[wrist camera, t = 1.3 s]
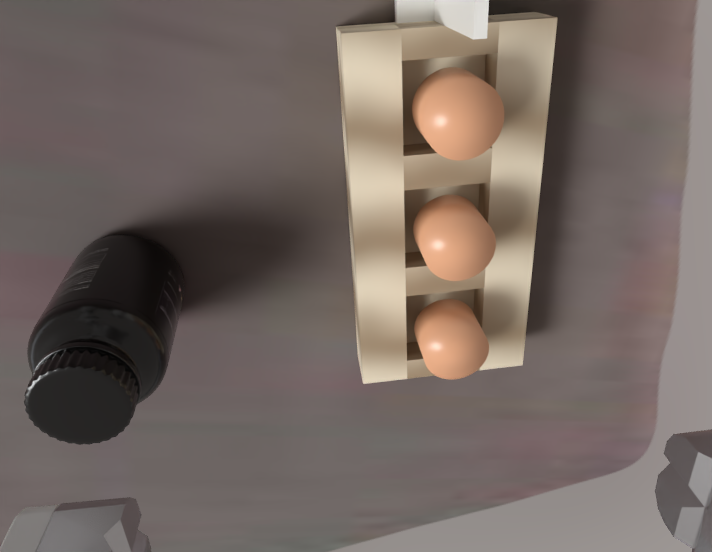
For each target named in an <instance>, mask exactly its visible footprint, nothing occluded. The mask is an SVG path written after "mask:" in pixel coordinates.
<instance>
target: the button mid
mask: <svg viewBox="0 0 712 552" xmlns="http://www.w3.org/2000/svg"><path fill="white" fill-rule="evenodd" d="M413 234H414V238H415V241H416V243H417V245H418V247H419V249H420V251H421V254H422V256H423V258H424V260H425V262H426V264H427V266H428V268H429V269H430V271H431V272H432V273H433V274H435V275H436V276H438V277H439V278H441V279H444V280H449V281H462V280H466V279H469V278H472V277H474V276H476V275H477V274H479V273H480V272H481V271H483V270H484V269H485V268H486V267H487V266H488V264H489V263H490V261H491V260H492V258H493V256H494V253H495V249H496V238H495V234H494V232H493V230H492V228H491V227H490V225H489V224H488V223H487V221H486V220H485V219H484V218H483V216H482V215H481V214H480V212H479V211H478V210H477V208H476V207H475V206H474V204H473V203H472V202H471V201H469V200H468V199H466V198H464V197H462V196H458V195H443V196H439V197H436V198H434V199H432V200H430V201H429V202H428V203H426V204H425V205H424V206H423V207H422V208H421V209H420V211H419V212H418V214H417V216H416V218H415V221H414V225H413Z"/></svg>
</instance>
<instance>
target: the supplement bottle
mask: <svg viewBox="0 0 712 552" xmlns="http://www.w3.org/2000/svg"><path fill="white" fill-rule="evenodd" d="M184 287H185V285H184V278H183V274H182V271H181V269H180V267H179V265H178V263H177V262H176V260H175V259H174V258H173V257H172V255H171V254H170V253H169V252H168V251H166V250H165V249H164V248H163V247H161V246H160V245H158V244H156V243H154V242H152V241H150V240H148V239H145V238H142V237H138V236H133V235H113V236H108V237H104V238H102V239H99V240H97V241H95V242H93V243H91V244H90V245H88V246H87V247H86V248H85V249H84V250H83V251H82V252H81V253H80V254H79V255H78V256H77V258H76V259H75V261H74V263H73V264H72V266H71V267H70V269H69V271H68V272H67V274H66V276H65V277H64V279H63V281H62V282H61V284H60V286H59V287H58V289H57V291H56V292H55V294H54V296H53V297H52V299H51V301H50V302H49V304H48V306H47V307H46V309H45V311H44V312H43V314H42V316H41V317H40V319H39V321H38V322H37V324H36V326H35V327H34V329H33V332H32V334H31V336H30V339H29V343H28V353H27V354H28V362H29V366H30V369H31V372H32V374H33V376H32V379H31V380H30V382H29V384H28V388H27V390H26V392H25V401H24V404H25V406H26V410H25V411H26V412H27V413H28V414H29V419H31V420H32V421H33V423H34V425H35V426H37V427H38V428H39V429H40V430H41V431H42V432H44V433H47V434H48V435H49V436H50V437H54V438H56V439H58V440H59V441H65V442H67V443H75V444H79V445H80V444H92V443H100V442H102V441H107V440H109V439H111V438H112V437H116V436H117V435H118V433H120V432H122V431H124V429H125V427H126V426H128V425H129V423H130V420H131V418H132V417H133V414H134V411H135V407H136V405H137V404H138V403H140V402H142V401H143V400H145V399H146V398H148V397H149V396H150V395H151V394H152V393H153V392H154V391H155V390H156V389H157V388H158V386H159V385H160V383H161V382H162V380H163V378H164V375H165V372H166V369H167V366H168V362H169V358H170V354H171V349H172V345H173V341H174V337H175V332H176V328H177V324H178V319H179V315H180V311H181V307H182V302H183V297H184Z"/></svg>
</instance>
